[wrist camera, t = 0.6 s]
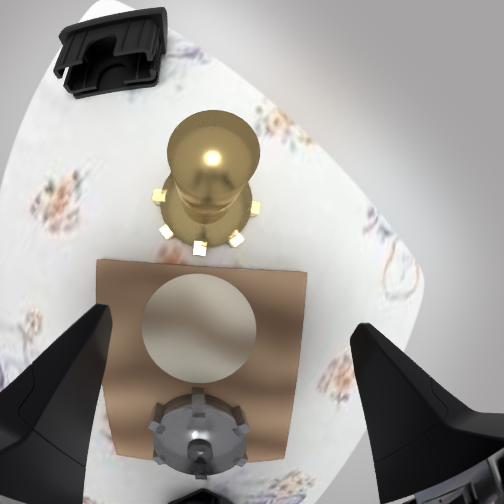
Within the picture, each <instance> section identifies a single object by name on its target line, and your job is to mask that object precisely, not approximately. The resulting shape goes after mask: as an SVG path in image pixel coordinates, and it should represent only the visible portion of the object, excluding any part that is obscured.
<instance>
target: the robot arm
mask: <svg viewBox="0 0 504 504" xmlns="http://www.w3.org/2000/svg"><path fill="white" fill-rule="evenodd" d="M112 327H113V320H112V316H111V311H110V307H109V305H108V304H104V303H97V304H95V305H94V306H93V307H92V308H91V309H90V310H88V311H87V312H86V313H85V314H84V315H83V316H82V317H80V318H79V319H78V320H77V321H76V322H75V323H74V324H73V325H72V326H70V327H69V328H68V329H67V330H66V331H65V332H64V333H63V334H62V335H61V336H60V337H58V338H57V339H56V340H55V341H54V342H53V343H52V344H51V345H50V346H49V347H48V348H47V349H46V350H45V351H44V352H43V353H42V354H41V355H40V356H38V357H37V358H36V359H35V360H34V361H33V362H32V364H30V365H29V366H28V367H27V368H26V369H25V370H24V371H23V372H22V373H21V374H20V375H19V376H18V377H17V378H16V379H15V380H14V381H13V382H11V383H10V384H9V385H8V386H7V387H6V388H4V389H3V390H2V391H1V392H0V504H83V490H84V480H85V471H86V468H85V467H86V462H87V455H88V448H89V442H90V436H91V431H92V425H93V420H94V415H95V410H96V406H97V401H98V397H99V392H100V388H101V384H102V380H103V376H104V372H105V368H106V363H107V357H108V350H109V344H110V338H111V333H112ZM350 346H351V352H352V359H353V365H354V372H355V377H356V382H357V386H358V390H359V394H360V398H361V402H362V407H363V411H364V416H365V420H366V425H367V430H368V435H369V439H370V445H371V450H372V455H373V461H374V467H375V473H376V479H377V485H378V492H379V499H380V504H385V503H389V502H392V501H395V500H398V499H401V498H404V497H407V496H410V495H413V494H414V496H415V497H414V498H412V499H411V500H408V501H406V502H404V503H402V504H504V414H501V413H481V412H477V411H474V410H472V409H470V408H468V407H467V406H466V405H465V404H464V403H462V402H461V401H460V400H458V399H457V398H456V397H454V396H453V395H452V394H451V393H449V392H448V391H447V390H446V389H444V388H443V387H442V386H441V385H440V384H438V383H437V382H436V381H435V380H434V379H433V378H432V377H430V375H428V374H427V373H426V372H425V371H424V370H423V369H422V368H421V367H419V366H418V365H417V364H416V363H415V362H414V361H413V360H411V359H410V358H409V357H408V356H407V355H406V354H405V353H404V352H402V351H401V350H400V349H399V348H398V347H397V346H396V345H394V344H393V343H392V342H391V341H390V340H389V339H387V338H386V337H385V336H384V335H383V334H382V333H381V332H379V331H378V330H377V329H376V328H375V327H374V326H372V325H371V324H370V323H360V324H358V326H357V327H356V329H355V331H354V332H353V334H352V335H351V338H350ZM168 504H232V503H230V502H228V501H226V500H224V499H223V498H221V497H219V496H217V495H215V494H213V493H211V492H210V491H208V490H206V489H201V490H199V491H196V492H194V493H192V494H190V495H188V496H185V497H183V498H181V499H178V500H176V501H173V502H171V503H168Z"/></svg>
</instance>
